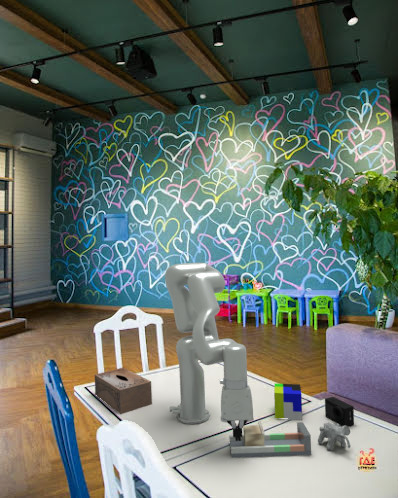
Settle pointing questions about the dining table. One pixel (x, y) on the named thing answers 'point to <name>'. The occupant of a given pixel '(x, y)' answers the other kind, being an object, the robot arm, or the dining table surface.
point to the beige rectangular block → (254, 435)
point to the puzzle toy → (288, 401)
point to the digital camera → (339, 411)
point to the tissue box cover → (123, 390)
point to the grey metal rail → (269, 446)
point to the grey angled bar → (304, 436)
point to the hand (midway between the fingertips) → (237, 438)
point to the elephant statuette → (334, 435)
